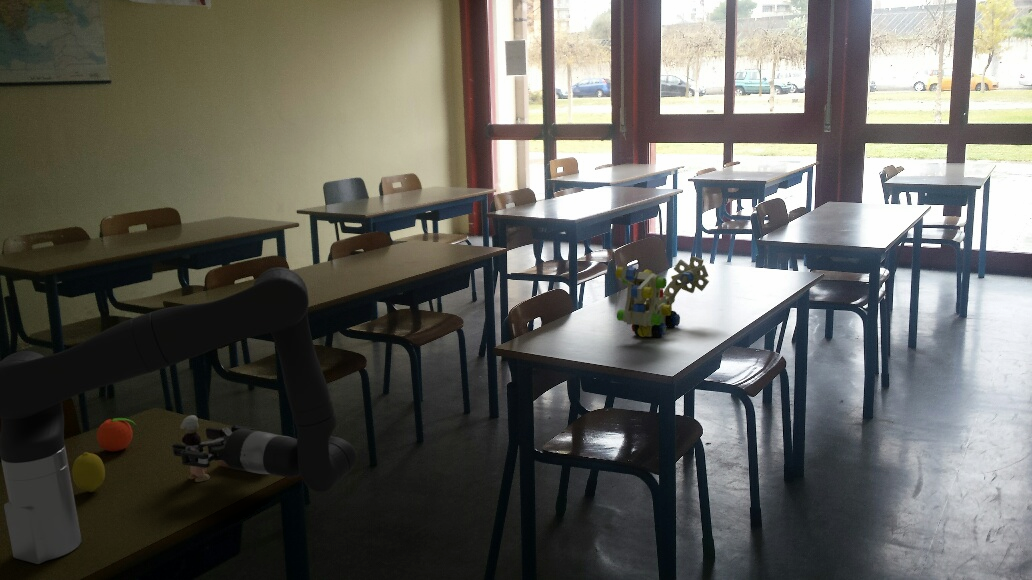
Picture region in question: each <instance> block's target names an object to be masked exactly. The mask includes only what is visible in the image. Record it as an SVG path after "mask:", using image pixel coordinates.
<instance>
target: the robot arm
mask: <svg viewBox="0 0 1032 580" xmlns="http://www.w3.org/2000/svg"><path fill="white" fill-rule="evenodd" d="M309 302H310V299H309V294H308V288H307V285H306V283H305V281H304V280H303V278H302V277H301V276H300V275H299V274H298V273H296V272H295V271H293V270H291V269H290V268H287V267H280V266H279V267H278V266H277V267H271V268H268V269H267V270H265V271H263V272H262V273H261V274H260V275H259V276H258V277H257V278H256V280H255V281H254V283H253V285H252V286H250V287H247V288H246V289H242V290H241V291H239V292H236V293H234V294H231V295H229V296H226V297H224V298H220V299H216V300H213V301H208V302H203V303H194V304H193V303H192V304H185V305H177V306H176V305H175V306H170V307H165V308H160V309H157V310H153V311H150V312H148V313H144V314H142V315H138V316H136V317H132V318H130V319H127V320H124V321H122V322H120V323H118V324H116V325H114V326H111V327H109V328H107V329H105V330H103V331H101V332H100V333H98V334H96V335H93V336H92V337H89V338H88V339H86V340H84V341H82V342H81V343H79V344H77V345H75V346H72V347H70V348H67V349H65V350H62V351H59V352H56V353H53V354H49V355H46V356H44V355H43V354H41V353H38V352H36V351H33V350H32V351H31V350H21V351H17V352H13V353H12V354H9V355H7V356H6V357H4V358H3V359H2V360H1V361H0V422H1V424H0V425H1V426H0V460H1V467H2V472H3V477H4V481H5V487H6V493H7V498H8V502H6V503H5V504H4V505H3V509H4V513H5V514H4V515H5V520H6V524H7V529H8V535H9V539H10V545H11V551H12V555H13V558H14V559H16V560H17V559H18V560H21V561H24V562H25V561H26V562H29V563H32V564H36V565H40V564H42V563H44V562H46V561H50V560H55V559H57V558H60V557H62V556H65V555H68V554H69V553H71V552H73V551H75V550H76V549H77V548H78V547H79V546H80V544H81V542H82V535H81V531H80V524H79V517H78V513H77V508H76V507H77V506H76V501H75V500H76V499H75V496H74V489H73V484H72V478H71V473H70V467H69V460H68V454H67V450H66V443H65V438H64V437H65V435H64V434H65V433H64V432H65V431H64V430H65V415H64V408H63V402H65V401H66V400H69V399H71V398H73V397H76V396H79V395H81V394H83V393H87V392H89V391H92V390H96V389H99V388H102V387H106V386H111V385H114V384H117V383H120V382H125V381H127V380H130V379H135V378H137V377H141V376H143V375H147V374H150V373H153V372H156V371H159V370H162V369H165V368H167V367H171V366H173V365H174V366H175V365H176V364H179V363H182V362H184V361H186V360H190V359H192V358H195V357H198V356H200V355H202V354H203V355H204V354H206V353H208V352H210V351H213V350H215V349H217V348H220V347H222V346H225V345H227V344H230V343H233V342H237V341H241V340H245V339H249V338H252V337H257V336H261V335H266V334H271V337H272V339H273V342H274V344H275V348H276V351H277V355H278V359H279V363H280V367H281V372H282V378H283V383H284V387H285V388H284V389H285V392H286V393H285V394H286V396H287V400H288V401H287V402H288V405H289V408H290V411H291V414H292V415H291V416H292V418H293V422H294V424H295V427H296V431H297V432H296V433H297V434H296V435H297V437H296V438H294V437H291V438H289V437H290V436H287V437H283V436H284V435H281V436H278V435H279V434H275V433H271V432H266V431H260V430H256V428H254V427H250V426H244V425H240V424H233V425H231V426H230V428H229V427H223V428H218V427H211V426H209V427H206V428H205V433H206V434H205V435H206V438H207V439H208V441H206V440H205V441H201V442H200V443H199V445H193V446H189V445H184V444H182V443H176V442H175V443H174V444H172V446H171V448H172V453H173V456H175V457H181V463H182V465H183V466H188V467H190V466H196V467H202V468H209V467H211V464H210V462H212V461H217V462H218V461H221V460H223V461H224V462H225V463H226V464H227V465H228V466H229V467H230V468H229V469H233V470H237V471H244V472H249V473H254V474H260V475H272V476H273V475H274V476H279V477H284V478H298V477H299V476H300V477H301V479H302V481H303V482H304V484H305V485H306V486H307V487H308V489H310V490H312V491H314V492H317V493H324V492H327V491H329V490H331V489H332V488H333V487H335V486H336V485H337V484H338V483H339V482H340V481H341V480H343V478H345V476H347V475H348V474H349V473H350V472H352V470H353V469H354V468H355V466H356V464H357V461H358V455H357V450H356V449H355V447H354V446H353V445H352V443H350V442H349V441H348V440H345V439H344V438H341V437H337V436H332V434H333V433H334V431H335V429H336V428H337V424H338V420H337V414H336V410H335V407H334V404H333V400H332V397H331V394H330V391H329V388H328V385H327V384H328V383H327V381H326V378H325V375H324V372H323V370H322V367H321V363H320V361H319V358H318V355H317V352H316V348H315V346H314V341H313V337H312V333H311V328H310V327H311V326H310V322H309V316H308V315H309V314H308V309H309ZM205 447H207V451H208V452H206V451H205ZM193 450H199V452H197V451H193Z"/></svg>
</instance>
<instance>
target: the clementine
mask: <svg viewBox="0 0 1032 580" xmlns="http://www.w3.org/2000/svg"><path fill="white" fill-rule="evenodd" d="M129 422H131V423H133V424H134V425H135V426H137V424H136V423H135V422H134V421H133V420H131V419H129V418H128V419H127V418H125V417H124V418H123V417H115V418H114V417H113V418H109V419H106V420H104V422H102V423H101V424H100V426H99V427H98V429H97V431H96V440H97V443H98V445H99V446H100V447H101V448H102V449H104V450H105V451H108V452H119V451H121V450H124V449H125V448H127V446H129V445H130V443H131V442H132V439H133V433H134V432H133V428H132V426H131V425H130V423H129Z"/></svg>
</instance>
